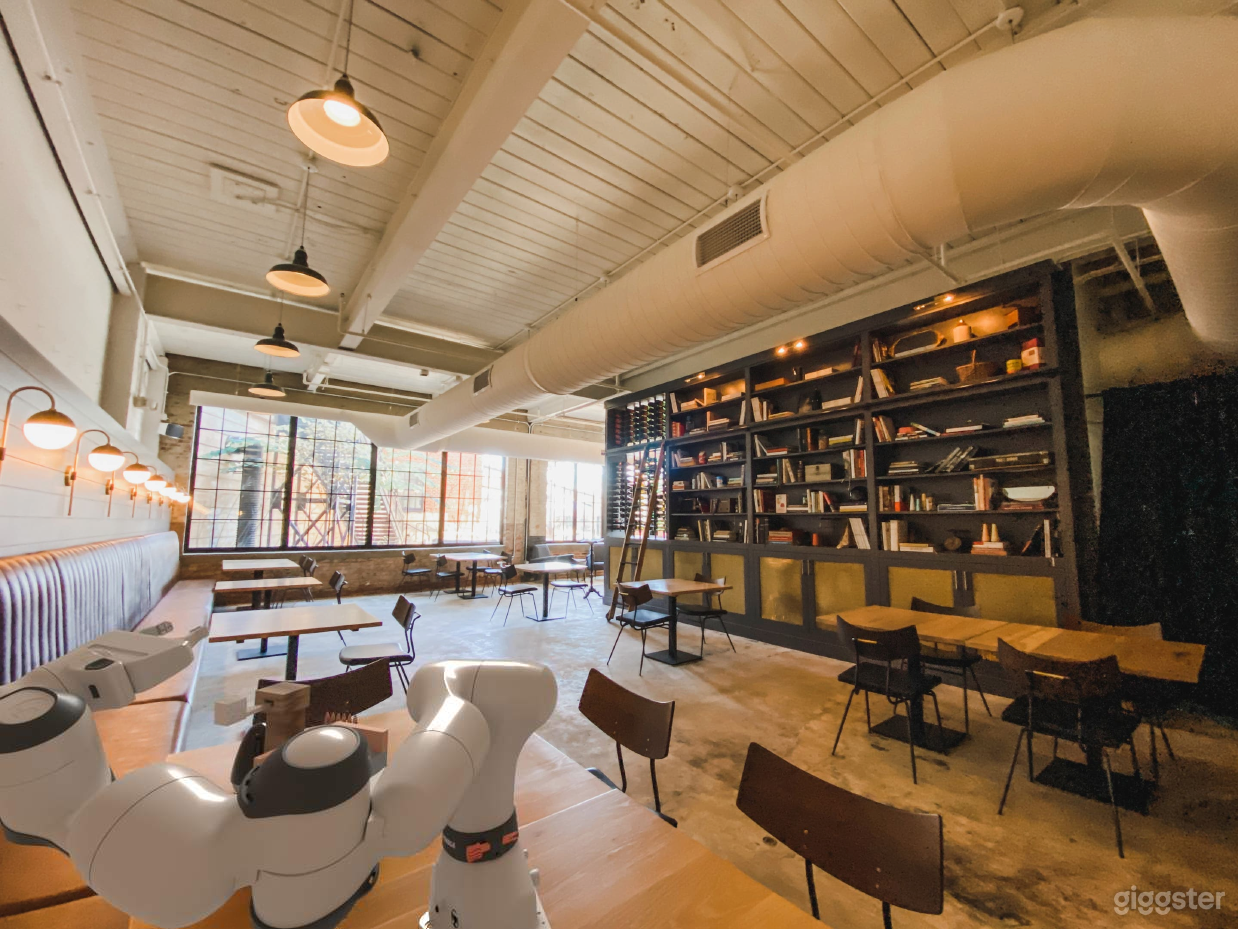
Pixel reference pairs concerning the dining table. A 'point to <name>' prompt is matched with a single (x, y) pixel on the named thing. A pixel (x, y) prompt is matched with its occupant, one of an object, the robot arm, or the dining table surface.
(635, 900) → the dining table surface
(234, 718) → the aluminium bracket
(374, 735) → the terracotta walls
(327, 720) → the ammunition clip
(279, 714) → the walnut post
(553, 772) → the dining table surface
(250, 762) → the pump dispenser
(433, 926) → the robot arm
